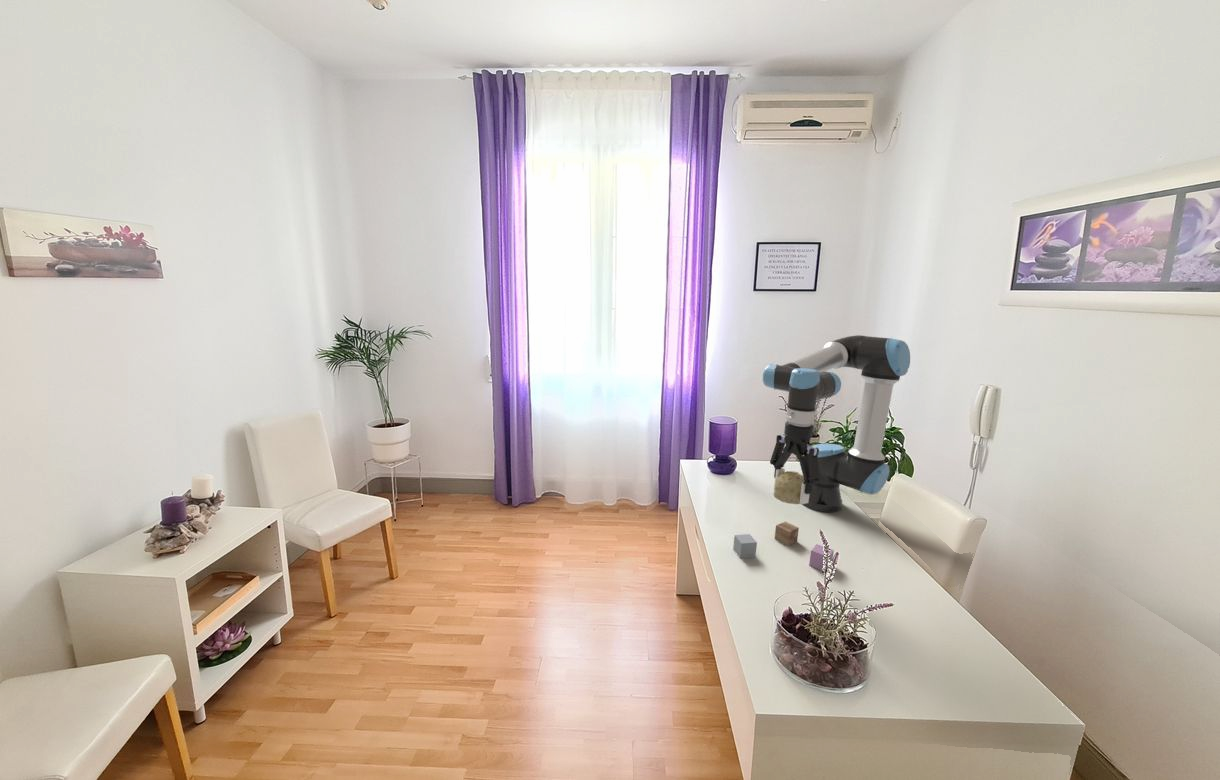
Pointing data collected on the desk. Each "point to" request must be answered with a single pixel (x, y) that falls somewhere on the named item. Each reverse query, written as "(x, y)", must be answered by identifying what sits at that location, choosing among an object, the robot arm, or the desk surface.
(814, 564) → the plum cube
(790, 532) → the walnut cube
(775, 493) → the decorative object
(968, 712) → the desk surface
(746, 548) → the slate cube
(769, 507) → the desk surface
